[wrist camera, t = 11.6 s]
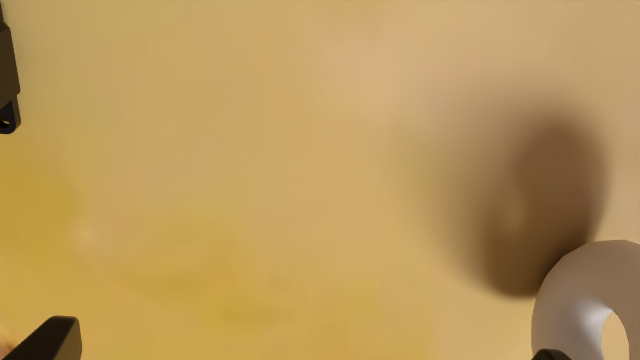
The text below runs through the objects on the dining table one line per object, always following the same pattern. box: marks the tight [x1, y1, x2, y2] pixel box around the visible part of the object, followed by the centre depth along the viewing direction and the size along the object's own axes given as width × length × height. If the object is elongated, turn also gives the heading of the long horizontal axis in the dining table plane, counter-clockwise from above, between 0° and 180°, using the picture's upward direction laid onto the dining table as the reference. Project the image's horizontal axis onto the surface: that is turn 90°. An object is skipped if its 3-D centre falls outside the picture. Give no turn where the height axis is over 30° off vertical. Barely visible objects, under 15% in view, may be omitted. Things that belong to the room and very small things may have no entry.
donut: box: [531, 240, 640, 360], centre depth 22 cm, size 10×4×10 cm, turn 168°
